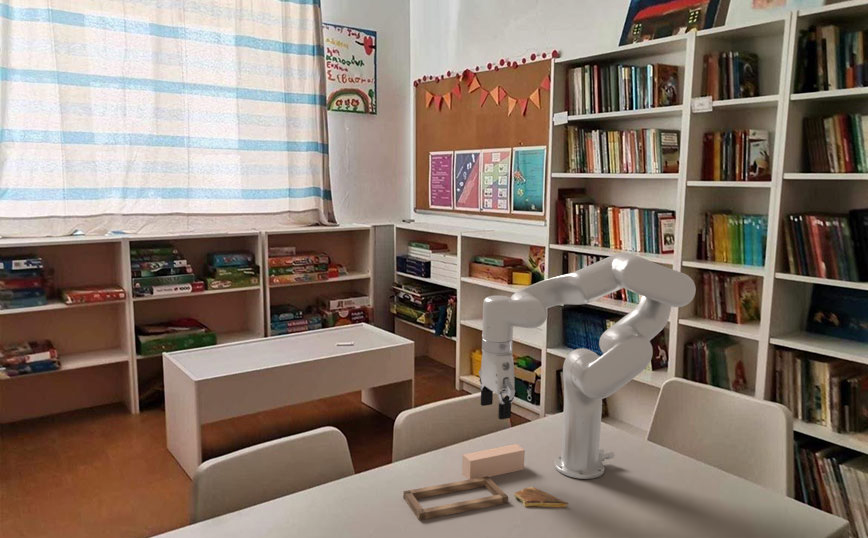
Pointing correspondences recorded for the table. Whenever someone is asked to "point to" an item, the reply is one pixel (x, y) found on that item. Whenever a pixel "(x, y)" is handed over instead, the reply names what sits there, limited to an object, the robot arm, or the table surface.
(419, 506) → the brown wooden frame
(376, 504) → the table surface
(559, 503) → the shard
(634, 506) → the table surface
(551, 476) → the table surface
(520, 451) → the pink rectangular block
